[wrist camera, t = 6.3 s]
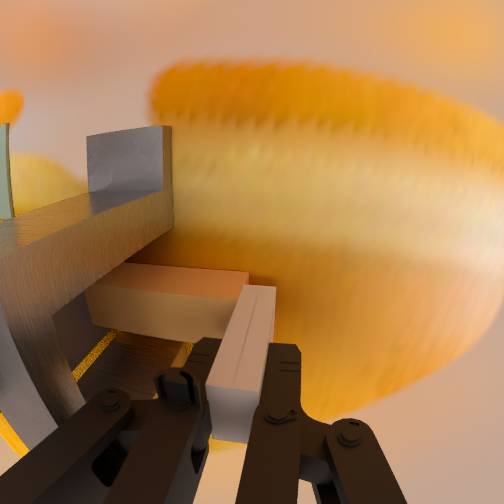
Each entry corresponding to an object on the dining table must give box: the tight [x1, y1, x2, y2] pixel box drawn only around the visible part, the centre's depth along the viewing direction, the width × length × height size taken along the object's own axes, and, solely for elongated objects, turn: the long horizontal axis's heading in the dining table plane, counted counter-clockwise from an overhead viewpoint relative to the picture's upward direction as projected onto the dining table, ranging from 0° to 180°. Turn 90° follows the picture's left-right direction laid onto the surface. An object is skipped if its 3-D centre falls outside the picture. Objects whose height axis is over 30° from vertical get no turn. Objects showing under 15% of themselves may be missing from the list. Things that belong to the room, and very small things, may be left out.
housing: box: [0, 125, 187, 451], centre depth 11 cm, size 4×17×10 cm, turn 179°
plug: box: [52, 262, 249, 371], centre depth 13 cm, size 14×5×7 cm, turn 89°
